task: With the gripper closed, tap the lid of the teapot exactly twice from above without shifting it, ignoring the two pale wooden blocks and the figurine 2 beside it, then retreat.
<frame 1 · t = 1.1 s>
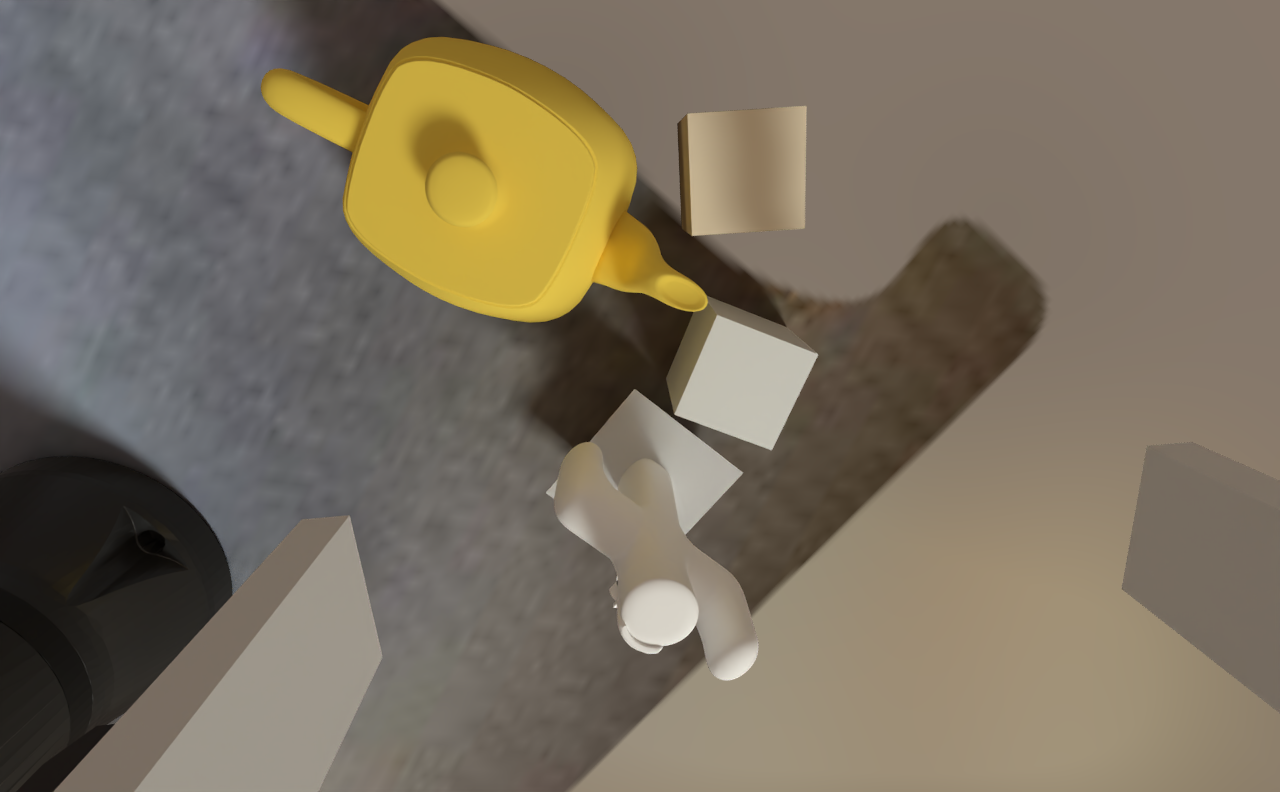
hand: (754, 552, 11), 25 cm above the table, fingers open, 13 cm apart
teapot: (522, 194, 33), on the table
figurine 2: (641, 453, 38), on the table
grey block: (725, 352, 36), on the table
beech block: (729, 174, 33), on the table
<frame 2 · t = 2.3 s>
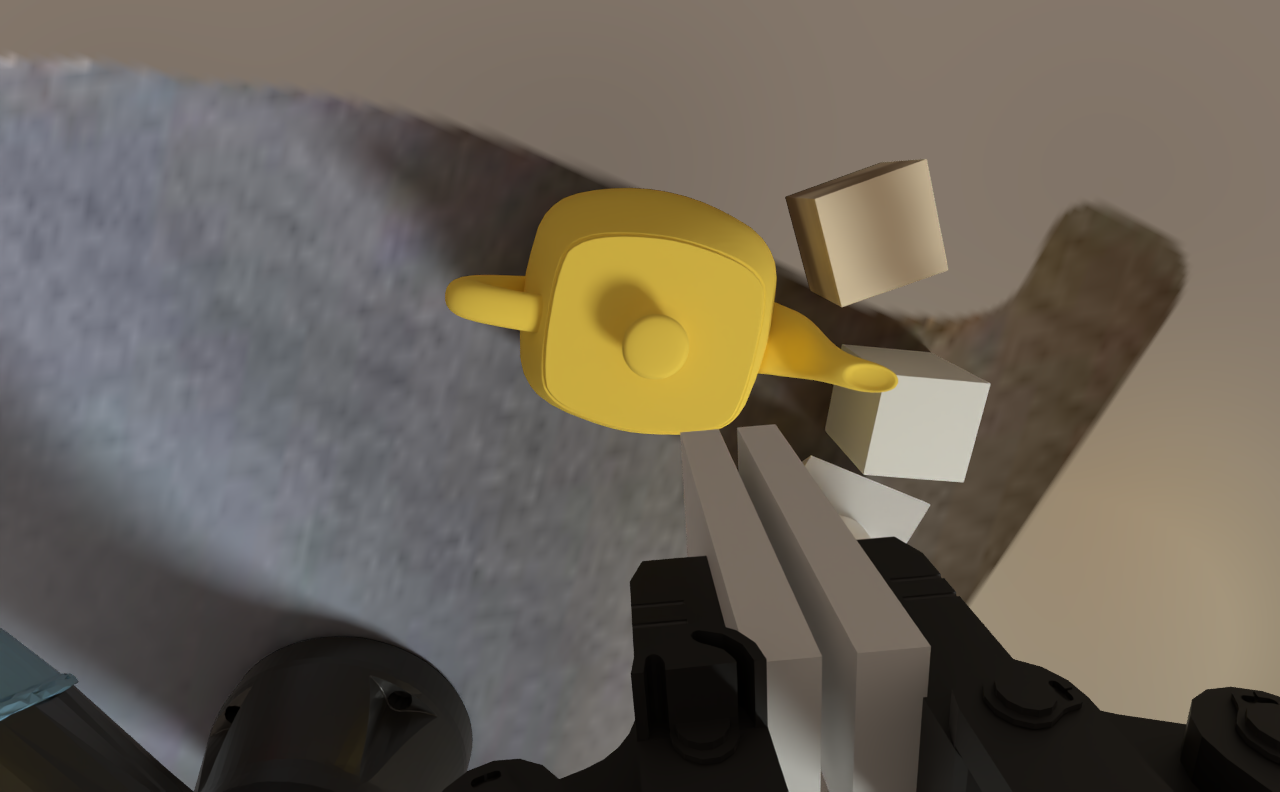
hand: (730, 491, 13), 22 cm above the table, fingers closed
teapot: (654, 301, 35), on the table
figurine 2: (816, 504, 39), on the table
grey block: (876, 391, 37), on the table
beech block: (844, 228, 34), on the table
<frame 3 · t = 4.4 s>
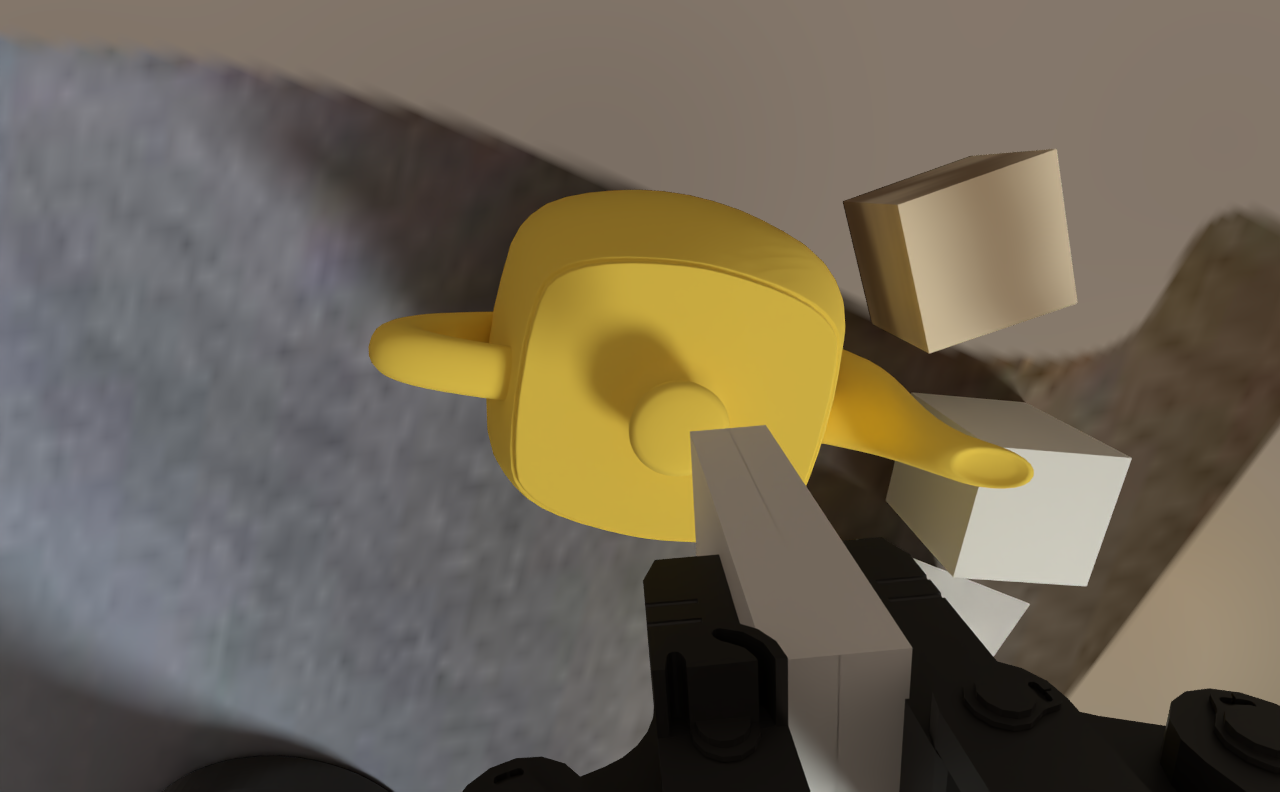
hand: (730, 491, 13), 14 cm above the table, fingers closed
teapot: (667, 338, 27), on the table
figurine 2: (872, 590, 31), on the table
grey block: (953, 452, 29), on the table
beech block: (919, 242, 26), on the table
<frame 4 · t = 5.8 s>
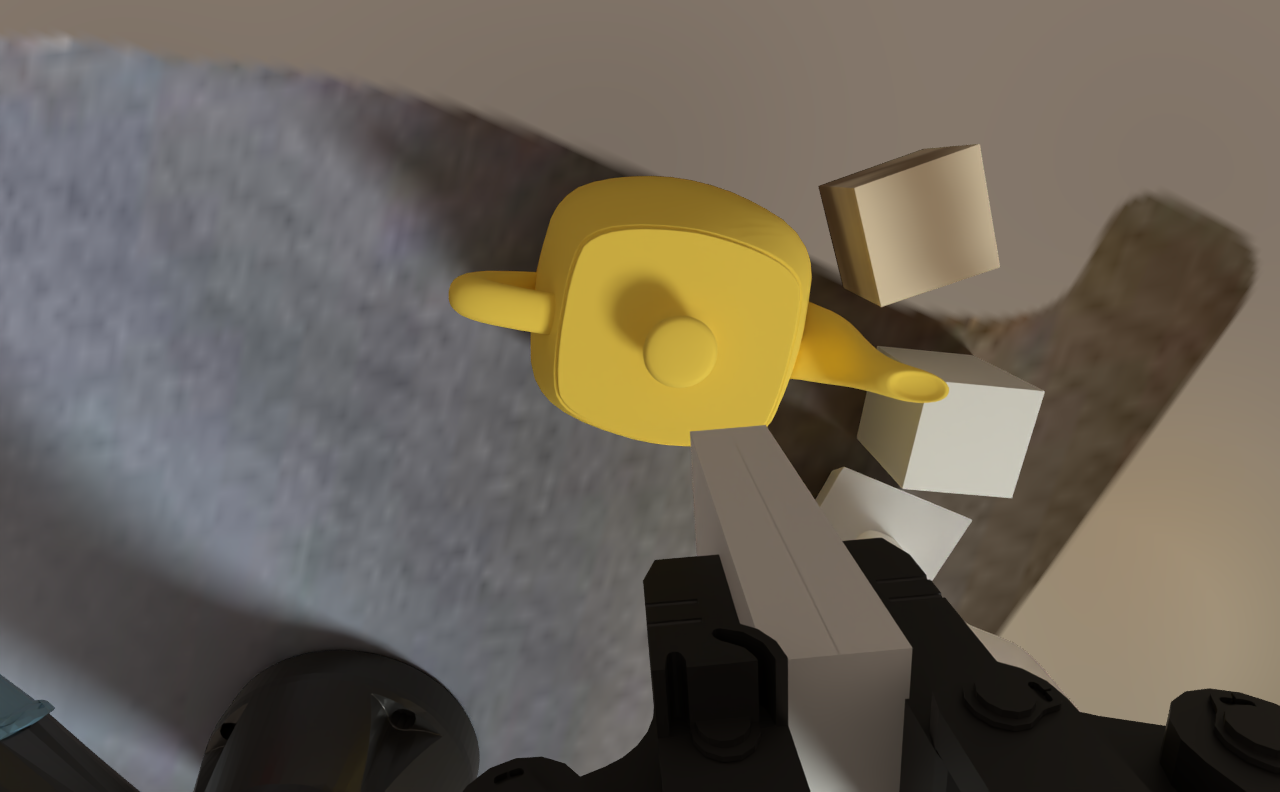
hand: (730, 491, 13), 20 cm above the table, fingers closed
teapot: (674, 299, 32), on the table
figurine 2: (846, 516, 36), on the table
grey block: (913, 397, 34), on the table
beech block: (882, 220, 31), on the table
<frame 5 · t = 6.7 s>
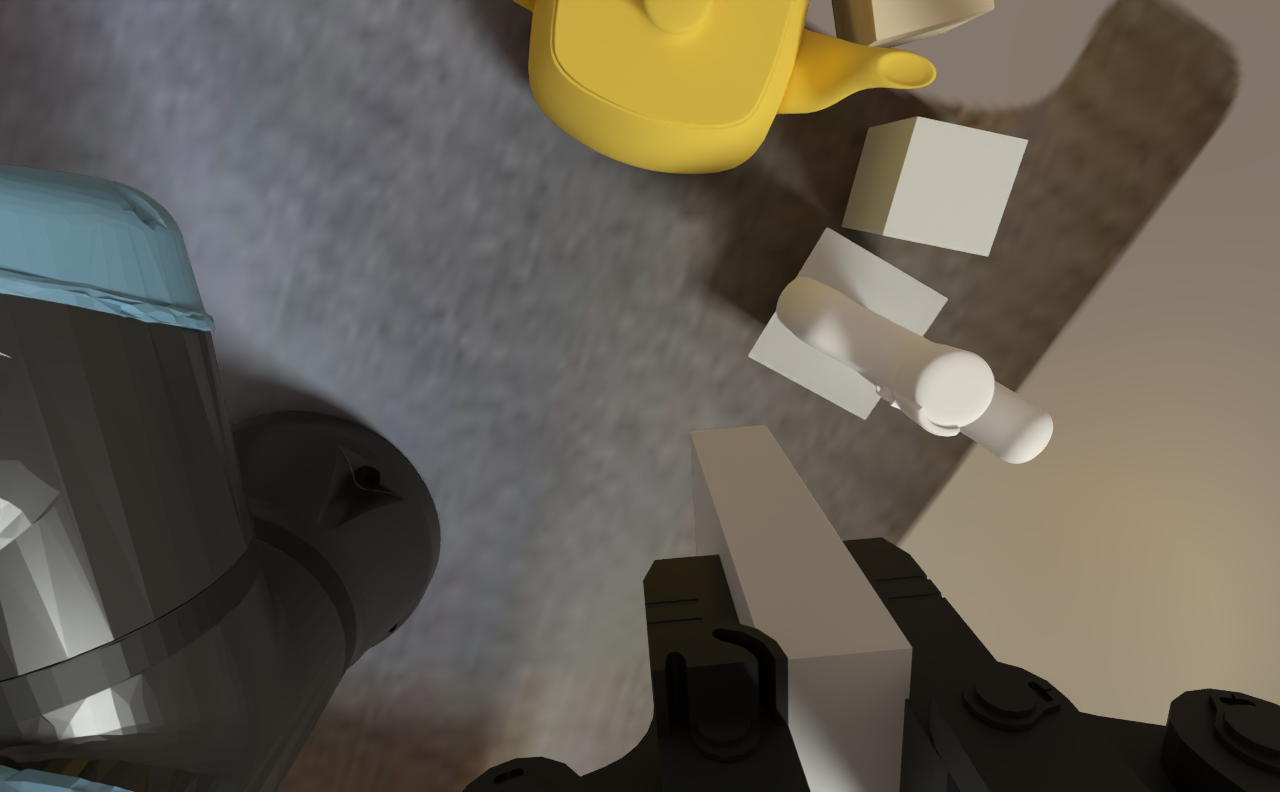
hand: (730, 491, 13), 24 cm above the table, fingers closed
teapot: (674, 57, 33), on the table
figurine 2: (824, 313, 37), on the table
grey block: (899, 187, 35), on the table
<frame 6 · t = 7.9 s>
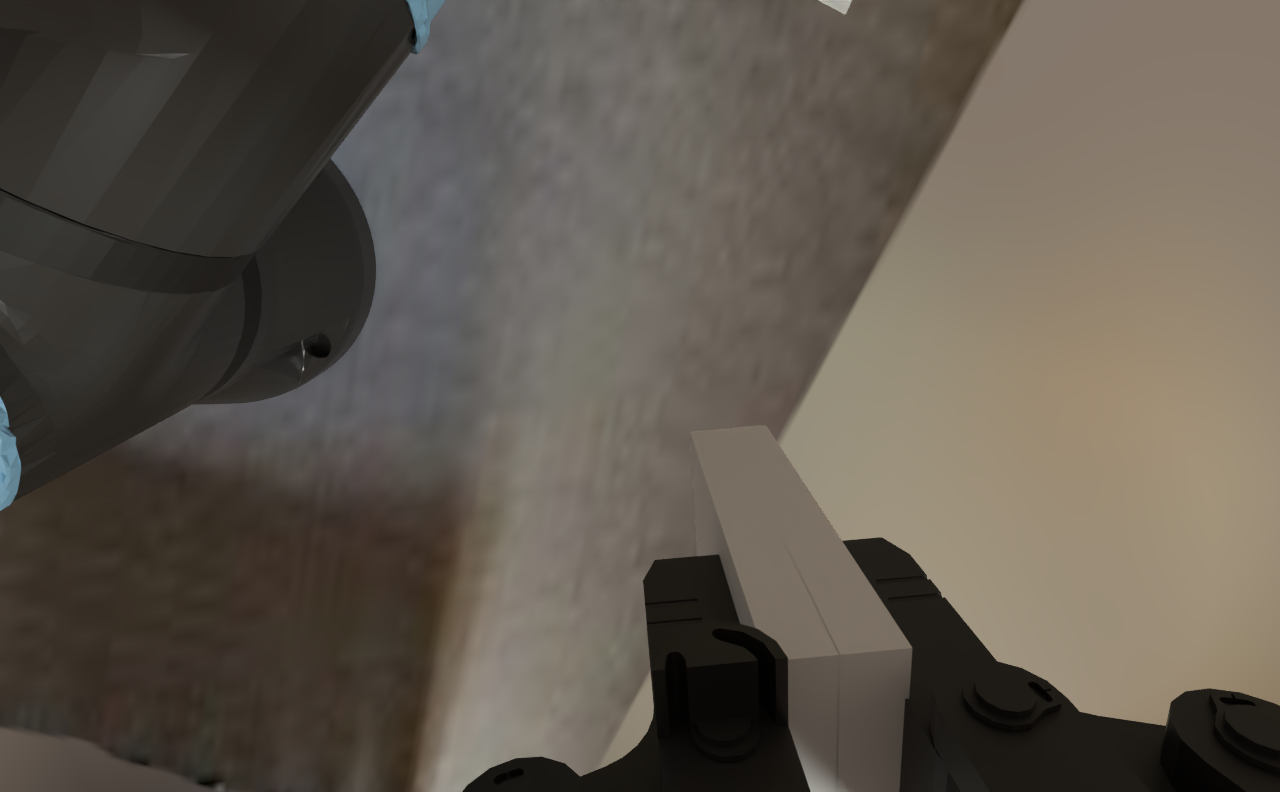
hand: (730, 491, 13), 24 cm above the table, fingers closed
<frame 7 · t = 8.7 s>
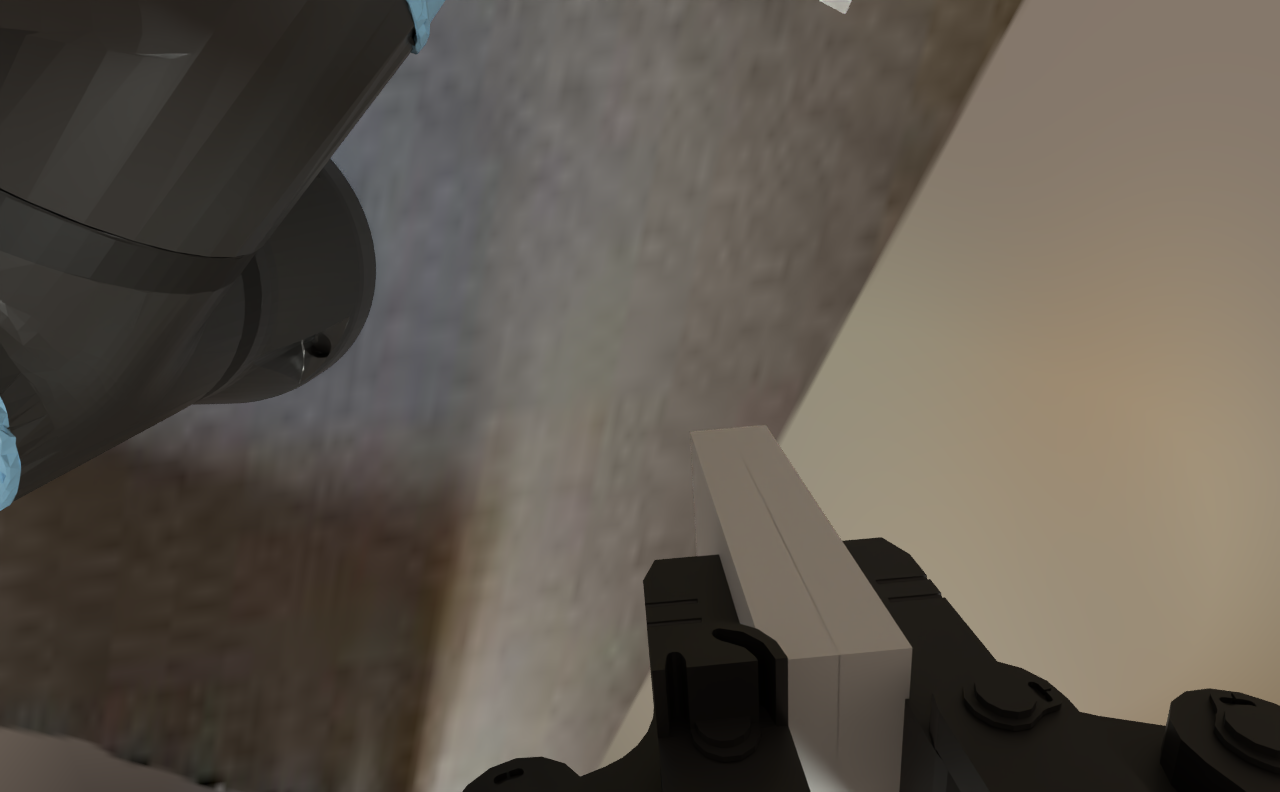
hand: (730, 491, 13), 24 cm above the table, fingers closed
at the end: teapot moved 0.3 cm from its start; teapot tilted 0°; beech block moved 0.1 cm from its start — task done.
